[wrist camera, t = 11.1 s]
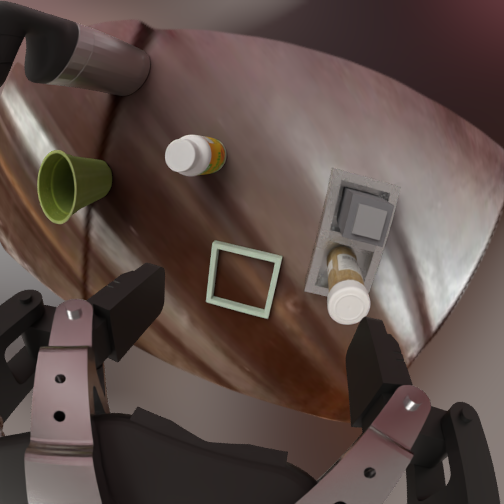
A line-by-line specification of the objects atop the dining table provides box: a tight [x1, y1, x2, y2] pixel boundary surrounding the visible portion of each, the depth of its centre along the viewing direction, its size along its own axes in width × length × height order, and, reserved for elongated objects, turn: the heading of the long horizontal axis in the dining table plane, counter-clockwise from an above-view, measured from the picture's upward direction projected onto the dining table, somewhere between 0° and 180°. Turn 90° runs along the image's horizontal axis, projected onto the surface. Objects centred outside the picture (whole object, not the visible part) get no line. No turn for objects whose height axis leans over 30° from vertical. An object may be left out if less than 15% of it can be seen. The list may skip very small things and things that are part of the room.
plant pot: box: [37, 150, 112, 224], centre depth 39 cm, size 12×12×11 cm
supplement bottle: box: [165, 135, 226, 176], centre depth 34 cm, size 5×5×10 cm
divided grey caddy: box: [304, 168, 401, 297], centre depth 36 cm, size 9×17×4 cm, turn 171°
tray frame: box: [206, 240, 283, 319], centre depth 43 cm, size 11×11×1 cm
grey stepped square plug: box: [336, 186, 394, 247], centre depth 31 cm, size 5×5×10 cm
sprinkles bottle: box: [327, 246, 370, 325], centre depth 32 cm, size 5×5×14 cm
